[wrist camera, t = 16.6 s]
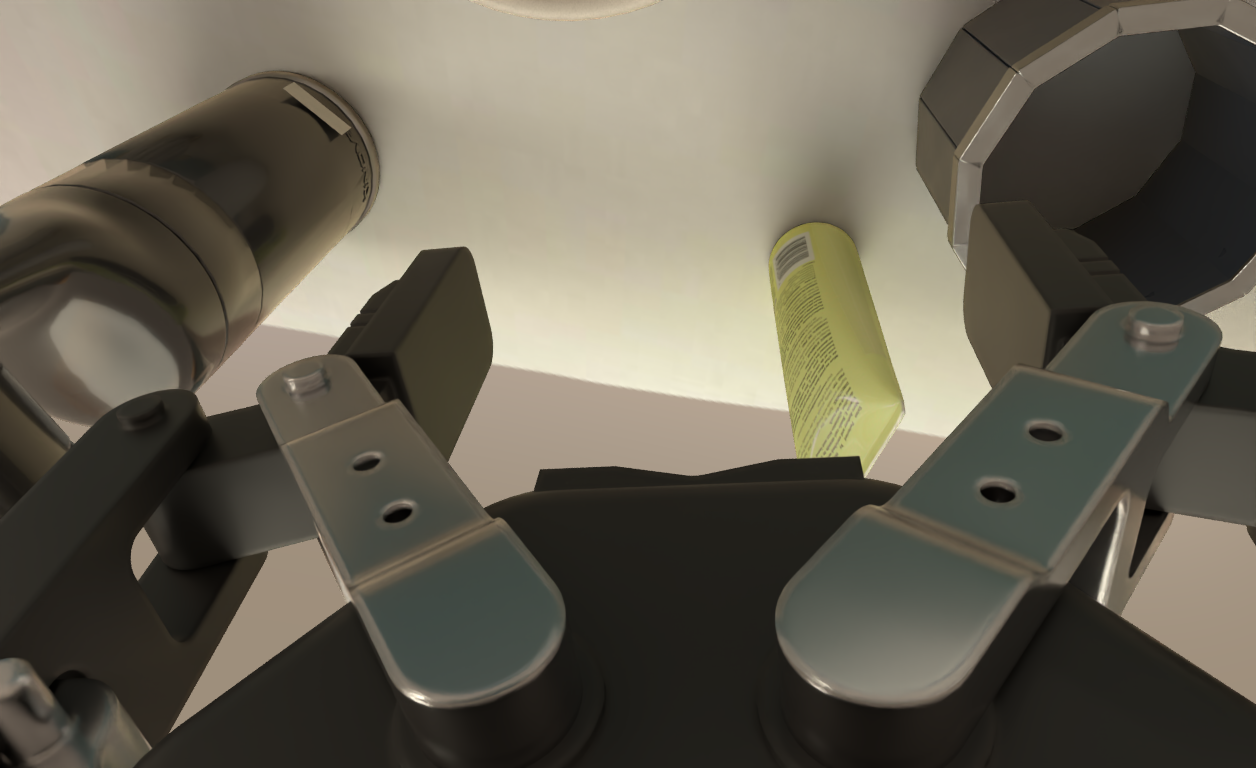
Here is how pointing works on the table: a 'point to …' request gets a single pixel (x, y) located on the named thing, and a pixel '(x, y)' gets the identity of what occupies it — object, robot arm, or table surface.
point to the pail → (1179, 189)
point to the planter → (566, 8)
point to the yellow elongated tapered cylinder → (832, 347)
